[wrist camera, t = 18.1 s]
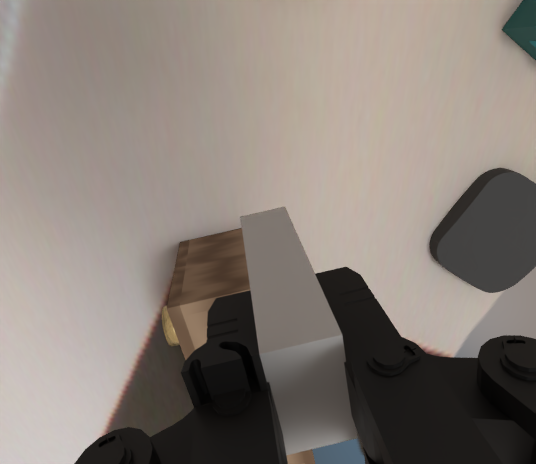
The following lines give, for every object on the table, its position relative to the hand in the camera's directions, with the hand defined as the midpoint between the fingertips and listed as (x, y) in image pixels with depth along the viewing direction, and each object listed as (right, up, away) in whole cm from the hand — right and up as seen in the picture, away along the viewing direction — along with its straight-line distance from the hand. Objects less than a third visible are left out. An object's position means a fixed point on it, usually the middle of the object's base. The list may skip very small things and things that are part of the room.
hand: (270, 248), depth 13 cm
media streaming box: (+30, +1, +40) cm, 50 cm away
